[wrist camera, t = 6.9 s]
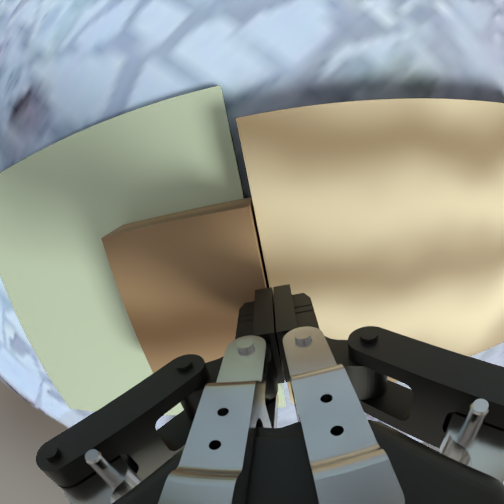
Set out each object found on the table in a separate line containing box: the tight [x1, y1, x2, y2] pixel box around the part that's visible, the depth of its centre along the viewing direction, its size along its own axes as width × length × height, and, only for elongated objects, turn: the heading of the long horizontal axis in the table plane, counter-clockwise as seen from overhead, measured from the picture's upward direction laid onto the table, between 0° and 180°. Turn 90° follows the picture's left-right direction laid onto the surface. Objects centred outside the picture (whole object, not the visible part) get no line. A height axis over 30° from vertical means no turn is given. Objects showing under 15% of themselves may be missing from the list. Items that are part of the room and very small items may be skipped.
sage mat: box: [0, 85, 286, 415], centre depth 17 cm, size 20×19×1 cm
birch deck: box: [236, 98, 504, 404], centre depth 15 cm, size 16×18×2 cm
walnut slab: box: [101, 197, 269, 373], centre depth 15 cm, size 9×7×2 cm
